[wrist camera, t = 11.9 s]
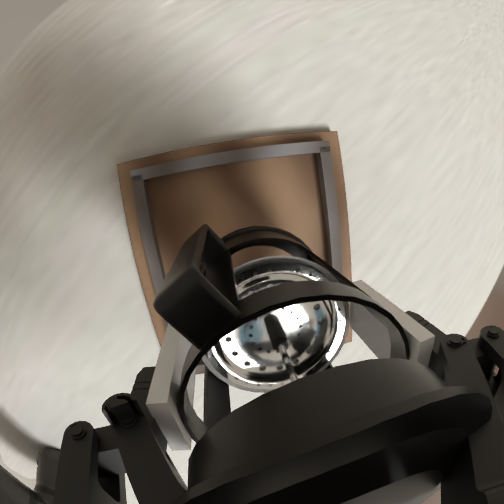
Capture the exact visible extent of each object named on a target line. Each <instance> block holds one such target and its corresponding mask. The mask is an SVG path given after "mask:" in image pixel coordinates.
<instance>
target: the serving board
mask: <svg viewBox="0 0 504 504" xmlns="http://www.w3.org/2000/svg"><path fill="white" fill-rule="evenodd" d="M117 168H118V175H119V181H120V187H121V193H122V199H123V205H124V210H125V215H126V220H127V225H128V230H129V234H130V239H131V243H132V248H133V252H134V256H135V260H136V264H137V268H138V272H139V276H140V280H141V283H142V287H143V291H144V294H145V298H146V301H147V304H148V308H149V311H150V314H151V318H152V321H153V324H154V327H155V330H156V333H157V336H158V339H159V342H160V345H161V347H162V343H163V340H164V337H165V333H166V330H167V327H168V324H169V323H168V322H167V321H165V320H164V319H163V318H162V317H161V316H160V315H159V314H158V313H157V312H156V311H155V309H154V307H153V301H154V299H155V297H156V295H157V293H158V291H159V289H160V287H161V285H162V283H163V281H164V279H165V277H166V275H167V273H168V271H169V270H170V268H171V266H172V264H173V262H174V260H175V258H176V256H177V255H178V253H179V251H180V249H181V247H182V245H183V244H184V242H185V241H186V240H187V239H188V238H189V237H190V236H192V235H193V234H194V233H195V232H196V231H197V230H198V229H199V228H200V227H201V226H202V225H204V224H207V225H208V226H209V227H210V228H211V229H212V230H213V231H214V232H215V233H216V234H217V235H218V236H219V237H220V238H222V237H224V236H225V235H227V234H229V233H231V232H233V231H235V230H238V229H241V228H245V227H250V226H271V227H277V228H280V229H283V230H285V231H288V232H290V233H292V234H293V235H295V236H296V237H298V238H300V239H301V240H302V241H303V242H304V243H305V244H306V245H307V246H308V247H309V248H310V249H311V251H312V252H313V253H314V254H316V255H317V256H318V257H320V258H321V259H322V260H324V261H325V262H326V263H327V264H329V265H330V266H331V267H333V268H334V269H335V270H337V271H338V272H339V273H341V274H342V275H343V276H344V277H346V278H347V279H348V280H350V281H351V282H352V275H351V253H350V237H349V223H348V212H347V201H346V192H345V183H344V175H343V167H342V159H341V152H340V146H339V139H338V133H337V131H327V132H309V133H295V134H284V135H273V136H264V137H256V138H248V139H240V140H233V141H226V142H220V143H214V144H208V145H202V146H196V147H191V148H186V149H181V150H176V151H171V152H166V153H162V154H157V155H153V156H149V157H145V158H140V159H136V160H132V161H129V162H125V163H121V164H117ZM283 255H285V256H292V255H290V254H289V253H287V252H285V251H284V250H282V249H279V248H276V247H272V246H265V245H263V246H252V247H248V248H244V249H242V250H240V251H238V252H236V253H234V254H233V255H231V258H232V263H233V268H236V267H237V266H239V265H242V264H244V263H247V262H249V261H252V260H256V259H259V258H263V257H267V256H283ZM348 303H349V311H350V302H348ZM351 341H352V328H351V327H350V322H349V330H348V333H347V336H346V339H345V342H344V343H348V342H351ZM202 373H205V363H204V362H203V360H202V359H201V360H200V362H199V363H198V365H197V366H196V372H195V374H202Z"/></svg>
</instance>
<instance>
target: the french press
mask: <svg viewBox="0 0 504 504" xmlns="http://www.w3.org/2000/svg"><path fill="white" fill-rule="evenodd" d="M263 245H265V246H272V247H276V248H279V249H282V250H284V251H285V252H287V253H289V254H290V255H292V256H285V255H283V256H267V257H263V258H259V259H256V260H252V261H249V262H247V263H244V264H242V265H239V266H237V267H236V268H233V263H232V258H231V255H233V254H234V253H236V252H238V251H240V250H242V249H244V248H248V247H252V246H263ZM348 302H354V303H357V304H360V305H362V306H363V307H365V308H366V309H367V310H368V311H369V312H370V313H371V314H372V315H373V316H375V317H376V318H377V319H378V320H379V321H380V322H381V323H382V324H383V325H385V326H386V327H387V328H388V332H389V337H390V342H391V351H390V358H386V359H370V360H365V361H360V362H356V363H351V364H346V365H341V366H336V367H333V366H332V365H331V362H332V361H333V360H334V359H335V357H336V356H337V355H338V353H339V351H340V350H341V348H342V346H343V344H344V342H345V339H346V336H347V333H348V330H349V322H350V311H349V303H348ZM153 307H154V309H155V311H156V312H157V313H158V314H159V315H160V316H161V317H162V318H163V319H164V320H165V321H167V322H168V323H169V324H170V325H171V326H172V327H173V328H174V329H175V330H177V331H178V332H179V333H180V334H181V335H182V336H183V337H185V338H186V339H187V340H188V341H189V342H190V343H192V346H191V347H190V349H189V351H188V353H187V356H186V359H185V363H184V366H183V369H182V375H181V382H180V389H179V412H180V416H181V419H182V422H183V424H184V427H185V429H186V430H187V432H188V433H189V435H190V437H191V438H192V439H193V440H194V441H195V442H196V445H195V447H194V449H193V451H192V453H191V456H190V458H189V465H188V490H187V491H186V492H184V493H183V494H182V495H181V496H179V497H178V498H177V499H175V500H174V501H173V503H172V504H421V503H423V502H424V501H425V500H427V499H428V498H429V497H431V496H432V495H433V494H434V493H436V492H437V491H438V490H439V489H440V488H441V481H442V480H443V479H444V478H445V477H446V475H447V474H448V473H449V471H450V470H451V468H452V467H453V465H454V464H455V462H456V460H457V459H458V457H459V455H460V453H461V451H462V449H463V447H464V445H465V442H466V440H467V438H468V436H470V435H471V434H472V433H474V432H475V431H476V430H478V429H479V428H480V427H482V426H483V425H484V424H486V423H487V422H488V421H489V420H491V416H492V408H493V407H492V404H491V401H490V399H489V397H488V396H487V395H486V394H484V393H483V392H482V391H480V390H478V389H476V388H475V387H473V386H450V387H449V386H448V385H447V384H446V383H445V382H444V381H443V380H442V379H441V378H440V377H439V376H438V375H437V374H436V373H435V372H434V371H433V370H432V369H431V368H429V367H427V366H425V365H423V364H421V363H419V362H417V361H413V360H409V357H410V350H409V342H408V339H407V337H406V334H405V332H404V330H403V327H402V326H401V325H400V323H399V322H398V321H397V320H396V319H395V317H394V316H393V315H392V314H391V313H390V312H389V311H387V310H386V309H385V308H384V307H382V306H381V305H380V304H379V303H377V302H376V301H375V300H374V299H372V298H371V297H370V296H369V295H367V294H366V293H365V292H364V291H362V290H361V289H360V288H359V287H357V286H356V285H355V284H353V283H352V282H351V281H350V280H348V279H347V278H346V277H344V276H343V275H342V274H341V273H339V272H338V271H337V270H335V269H334V268H333V267H331V266H330V265H329V264H327V263H326V262H325V261H324V260H322V259H321V258H320V257H318V256H317V255H316V254H314V253H313V252H312V251H311V249H310V248H309V247H308V246H307V245H306V244H305V243H304V242H303V241H302V240H301V239H300V238H298V237H296V236H295V235H293V234H292V233H290V232H288V231H285V230H283V229H280V228H277V227H271V226H250V227H245V228H241V229H238V230H235V231H233V232H231V233H229V234H227V235H225V236H224V237H222V238H220V237H219V236H218V235H217V234H216V233H215V232H214V231H213V230H212V229H211V228H210V227H209V226H208V225H207V224H204V225H202V226H201V227H200V228H199V229H198V230H197V231H196V232H195V233H194V234H193V235H192V236H190V237H189V238H188V239H187V240H186V241H185V242H184V244H183V245H182V247H181V249H180V251H179V253H178V255H177V256H176V258H175V260H174V262H173V264H172V266H171V268H170V270H169V271H168V273H167V275H166V277H165V279H164V281H163V283H162V285H161V287H160V289H159V291H158V293H157V295H156V297H155V299H154V301H153ZM201 359H202V360H203V362H204V363H205V377H204V423H203V421H202V420H201V419H200V418H199V417H198V416H197V415H196V413H195V411H194V409H193V407H192V405H191V403H190V401H189V397H188V392H187V388H186V387H187V385H188V382H189V379H190V376H191V374H192V372H193V371H194V369H195V368H196V366H197V365H198V363H199V362H200V360H201ZM228 384H229V385H231V386H233V387H236V388H239V389H241V390H246V391H251V392H264V393H265V394H263V395H261V396H259V397H257V398H256V399H254V400H252V401H250V402H249V403H247V404H245V405H243V406H241V407H239V408H238V409H236V410H234V411H232V412H231V408H230V397H229V385H228Z"/></svg>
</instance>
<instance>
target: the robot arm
mask: <svg viewBox="0 0 504 504" xmlns="http://www.w3.org/2000/svg"><path fill="white" fill-rule="evenodd" d="M352 283H353V284H355V285H356V286H357V287H359V288H360V289H361V290H362V291H364V292H365V293H366V294H367V295H369V296H370V297H371V298H372V299H374V300H375V301H376V302H377V303H379V304H380V305H381V306H382V307H384V308H385V309H386V310H387V311H389V312H390V313H391V314H392V315H393V316H394V317H395V319H396V320H397V321H398V322H399V323H400V325H401V326H402V327H403V330H404V332H405V334H406V337H407V339H408V342H409V350H410V357H409V360H413V361H417V362H419V363H421V364H423V365H425V366H427V367H429V368H431V369H432V370H433V371H434V372H435V373H436V374H437V375H438V376H439V377H440V378H441V379H442V380H443V381H444V382H445V383H446V384H447V385H448V386H449V387H450V386H473V387H475V388H476V389H478V390H480V391H482V392H483V393H484V394H486V395H487V396H488V397H489V399H490V401H491V404H492V407H493V408H492V416H491V420H489V421H488V422H487V423H486V424H484V425H483V426H482V427H480V428H479V429H478V430H476V431H475V432H474V433H472V434H471V435H470V436H468V438H467V440H466V442H465V445H464V447H463V449H462V451H461V453H460V455H459V457H458V459H457V460H456V462H455V464H454V465H453V467H452V468H451V470H450V471H449V473H448V474H447V475H446V477H445V478H444V479H443V480H442V481H441V504H504V331H503V330H502V329H500V328H499V327H496V326H486V327H484V328H482V330H481V332H480V336H479V338H476V339H471V340H467V339H466V337H464V336H462V335H459V334H449V335H446V334H444V333H443V332H442V331H440V330H439V329H438V328H436V327H435V326H434V325H432V324H430V322H428V321H427V320H424V318H423V317H421V316H420V315H419V314H416V313H414V312H411V311H407V312H404V311H402V310H401V309H400V308H398V307H397V306H396V305H394V304H393V303H392V302H390V301H389V300H388V299H386V298H385V297H384V296H382V295H381V294H380V293H378V292H377V291H375V290H374V289H373V288H371V287H370V286H369V285H367V284H366V283H365V282H363V281H362V280H360V281H356V282H352ZM350 327H351V328H352V329H353V330H354V331H355V332H356V333H357V334H358V336H359V337H360V338H361V339H362V340H363V341H364V342H365V344H366V345H367V346H368V347H369V348H370V349H371V350H372V352H373V353H374V354H375V355H376V356H377V357H378V358H379V359H386V358H390V351H391V342H390V337H389V332H388V328H387V327H386V326H385V325H383V324H382V323H381V322H380V321H379V320H378V319H377V318H376V317H375V316H373V315H372V314H371V313H370V312H369V311H368V310H367V309H366V308H365V307H363V306H362V305H360V304H357V303H354V302H350ZM191 346H192V343H190V342H189V341H188V340H187V339H186V338H185V337H183V336H182V335H181V334H180V333H179V332H178V331H177V330H175V329H174V328H173V327H172V326H171V325H170V324H168V327H167V330H166V333H165V337H164V340H163V343H162V347H161V350H160V354H159V357H158V360H157V364H156V367H144V368H143V369H142V370H141V371H140V372H139V373H138V374H137V377H136V380H135V384H134V386H133V390H132V392H131V394H128V393H120V394H115V395H113V396H111V397H109V398H108V399H107V400H106V401H105V402H104V404H103V405H102V412H103V414H104V415H105V417H106V418H107V420H108V421H109V423H110V425H109V426H106V427H101V428H96V429H94V428H93V427H92V425H91V424H90V423H88V422H86V421H78V422H74V423H73V424H71V425H69V426H68V427H67V429H66V430H65V432H64V435H63V440H62V445H61V451H59V450H55V449H51V448H44V449H42V450H41V451H40V453H39V455H38V457H37V465H38V467H37V479H36V485H35V488H34V491H33V490H31V489H30V488H29V487H27V486H26V485H25V484H23V483H22V482H20V481H19V480H18V479H17V478H15V477H14V476H13V475H12V474H10V473H9V472H8V471H7V470H5V469H4V468H3V467H2V466H1V465H0V504H127V501H126V489H125V473H127V475H128V478H129V480H130V483H131V486H132V488H133V491H134V493H135V495H136V498H137V500H138V502H139V504H172V503H173V501H174V500H175V499H177V498H178V497H179V496H181V495H182V494H183V493H184V492H186V491H187V490H188V488H187V486H186V484H185V483H184V481H183V479H182V478H181V476H180V474H179V473H178V471H177V469H176V467H175V466H174V464H173V462H172V460H171V459H170V457H169V455H168V454H167V452H166V449H167V443H168V445H169V447H170V448H171V450H172V451H174V450H191V437H190V435H189V433H188V432H187V430H186V429H185V427H184V424H183V422H182V419H181V416H180V412H179V389H180V382H181V375H182V369H183V366H184V363H185V359H186V356H187V353H188V351H189V349H190V347H191ZM496 365H497V367H498V368H499V371H498V374H497V375H496V374H495V373H494V372H493V371H494V369H495V366H496ZM195 372H196V368H195V369H194V371H193V372H192V374H191V376H190V379H189V382H188V385H187V387H186V388H187V392H188V397H189V401H190V403H191V405H192V407H193V399H194V385H195Z"/></svg>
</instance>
